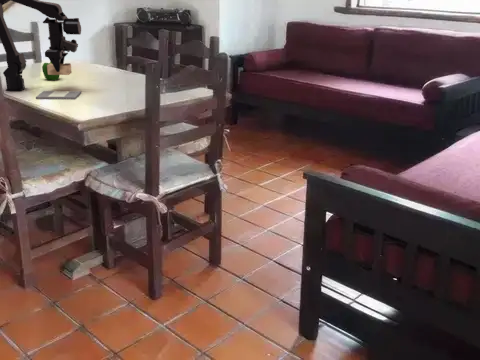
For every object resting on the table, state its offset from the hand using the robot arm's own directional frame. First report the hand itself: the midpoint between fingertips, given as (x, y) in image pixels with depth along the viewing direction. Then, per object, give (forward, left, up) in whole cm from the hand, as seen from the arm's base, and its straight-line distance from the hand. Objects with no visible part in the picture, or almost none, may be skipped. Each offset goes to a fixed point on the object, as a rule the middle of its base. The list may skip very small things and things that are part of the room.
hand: (59, 70), depth 239 cm
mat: (+2, -12, -8) cm, 15 cm away
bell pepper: (-10, +24, -9) cm, 27 cm away
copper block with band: (0, 0, -1) cm, 1 cm away
